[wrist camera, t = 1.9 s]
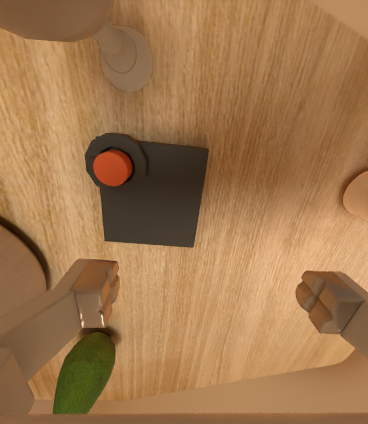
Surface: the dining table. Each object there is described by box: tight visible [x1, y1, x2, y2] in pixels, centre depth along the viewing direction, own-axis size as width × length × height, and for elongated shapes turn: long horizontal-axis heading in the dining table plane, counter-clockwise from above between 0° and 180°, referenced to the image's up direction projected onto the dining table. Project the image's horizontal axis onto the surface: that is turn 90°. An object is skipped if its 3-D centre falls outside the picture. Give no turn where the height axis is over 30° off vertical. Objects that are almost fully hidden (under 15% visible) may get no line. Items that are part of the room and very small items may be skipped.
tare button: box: [93, 150, 133, 186], centre depth 18 cm, size 3×3×2 cm
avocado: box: [53, 332, 116, 414], centre depth 29 cm, size 8×8×12 cm
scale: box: [85, 133, 209, 248], centre depth 22 cm, size 14×12×3 cm
